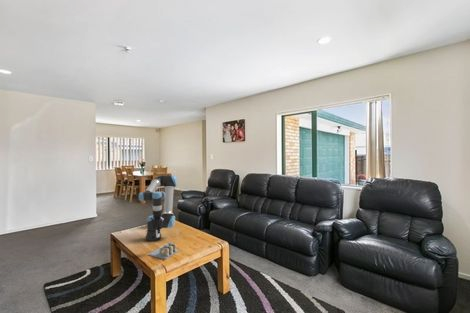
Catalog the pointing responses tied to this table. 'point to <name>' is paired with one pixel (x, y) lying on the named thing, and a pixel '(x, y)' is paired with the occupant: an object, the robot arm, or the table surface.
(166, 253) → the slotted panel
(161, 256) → the boss board
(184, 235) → the table surface
